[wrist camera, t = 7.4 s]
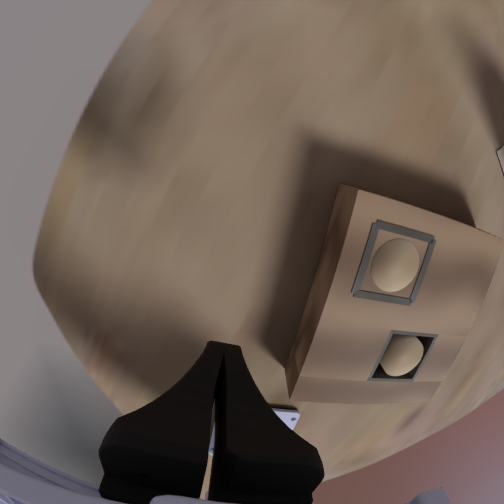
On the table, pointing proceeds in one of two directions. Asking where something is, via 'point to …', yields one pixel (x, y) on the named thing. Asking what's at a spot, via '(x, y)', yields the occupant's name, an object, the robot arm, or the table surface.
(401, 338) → the peg
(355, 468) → the table surface
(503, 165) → the condiment
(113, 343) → the table surface
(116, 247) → the table surface
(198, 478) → the robot arm
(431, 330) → the board
